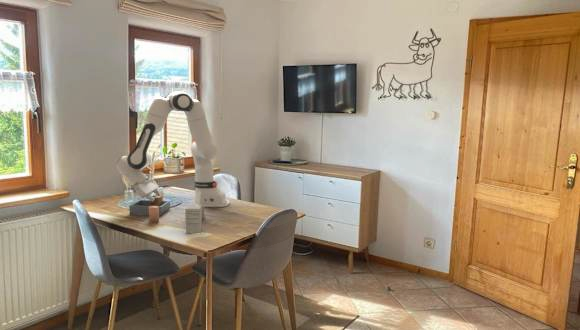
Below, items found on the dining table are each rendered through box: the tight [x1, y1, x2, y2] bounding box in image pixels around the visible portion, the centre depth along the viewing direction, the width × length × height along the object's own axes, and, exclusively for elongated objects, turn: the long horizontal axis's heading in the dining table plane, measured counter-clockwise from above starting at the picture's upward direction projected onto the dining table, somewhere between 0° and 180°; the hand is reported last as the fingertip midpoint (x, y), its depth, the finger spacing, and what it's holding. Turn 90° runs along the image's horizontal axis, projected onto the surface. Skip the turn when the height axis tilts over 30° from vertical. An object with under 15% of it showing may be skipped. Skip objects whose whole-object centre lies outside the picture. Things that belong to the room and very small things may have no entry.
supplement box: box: [184, 204, 203, 234], centre depth 218 cm, size 7×7×13 cm
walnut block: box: [149, 194, 163, 207], centre depth 250 cm, size 5×5×8 cm
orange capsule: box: [148, 206, 160, 224], centre depth 232 cm, size 5×5×8 cm
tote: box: [129, 199, 171, 217], centre depth 251 cm, size 18×14×5 cm
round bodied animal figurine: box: [195, 204, 206, 220], centre depth 237 cm, size 7×12×8 cm, turn 138°
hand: (157, 198), depth 250 cm, fingers open, 8 cm apart
